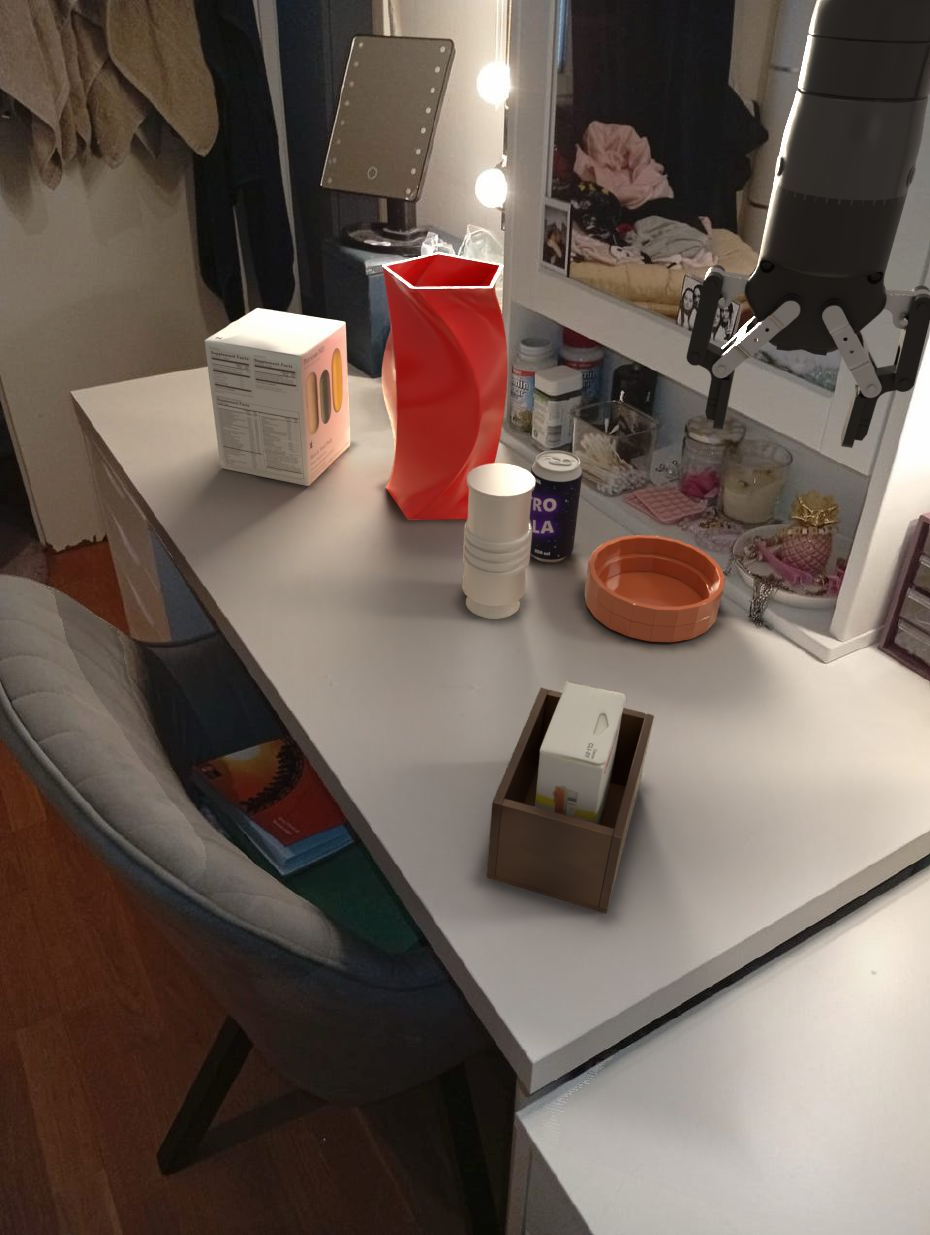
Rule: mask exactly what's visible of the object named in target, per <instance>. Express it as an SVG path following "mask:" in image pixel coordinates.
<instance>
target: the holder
mask: <svg viewBox="0 0 930 1235" xmlns="http://www.w3.org/2000/svg"><path fill="white" fill-rule="evenodd" d="M562 693H563V691H561V692H560V691H557V690H553V689H549V688H545V687H540V688H539V691H538V693H537V696H536V698H535V700H534V703H533V704H532V707H531V709H530V712H529V714H528V717H527V719H526V721H525V724H524V726H523V729H522V731H521V733H520V735H519V739H518V740H517V743H516V745H515V747H514V749H513V752H512V755H511V756H510V760H509V762H508V764H507V766H506V768H505V771H504V773H503V776H502V778H501V780H500V783H499V786H498V788H497V789H496V792H495V794H494V797H493V800H492V802H491V814H490V824H489V826H490V827H489V839H488V853H487V867H486V878H487V879H489V880H493V881H496V882H499V883H502V884H506V885H510V886H512V887H516V888H520V889H522V890H525V891H526V890H527V891H530V892H533V893H536V894H539V895H543V896H546V897H549V898H553V899H556V900H560V901H563V902H566V903H570V904H573V905H576V906H580V907H583V908H586V909H589V910H593V911H596V912H599V913H602V914H608V911H609V906H610V903H611V899H612V896H613V895H612V894H613V891H614V887H615V884H616V879H617V876H618V872H619V868H620V864H621V861H622V855H623V852H624V848H625V844H626V840H627V837H628V833H629V829H630V826H631V825H630V824H631V821H632V818H633V813H634V809H635V805H636V801H637V797H638V794H639V789H640V785H641V782H642V775H643V771H644V767H645V762H646V756H647V751H648V749H649V743H650V738H651V734H652V728H653V725H654V724H653V723H654V719H655V715H654V714H652V713H651V714H650V713H646V712H643V711H639V710H636V709H635V710H634V709H630V708H626V707H624V708H623V712H622V717H621V723H620V729H619V735H618V741H617V747H616V752H615V758H614V764H613V769H612V775H611V780H610V786H609V792H608V797H607V801H606V805H605V808H604V812H603V816H602V820H601V824H600V825H598V824H595V823H591V822H588V821H584V820H580V819H577V818H573V817H569V816H566V815H562V814H559V813H555V812H551V811H548V810H544V809H541V808H537V807H535V800H536V791H537V780H538V769H539V758H540V748H541V745H542V743H543V740H544V737H545V735H546V732H547V730H548V727H549V725H550V722H551V720H552V717H553V715H554V712H555V710H556V707H557V705H558V702H559V700H560V698H561V695H562Z"/></svg>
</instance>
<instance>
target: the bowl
mask: <svg viewBox="0 0 930 1235" xmlns="http://www.w3.org/2000/svg"><path fill="white" fill-rule="evenodd" d="M725 584H726V577H725V575H724V572H723V568H722V567H721V565H719V563H718V562H716V560H715V559H714V558H713V557H712V556H711V555H710V554H708V553H706V552H705V551H703V550H702V549H700V548H699V547H697V546H694V545H692V544H689V543H687V542H684V541H681V540H679V539H675V538H670V537H665V536H660V535H649V534H648V535H644V534H635V535H628V536H627V535H626V536H621V537H619V536H618V537H616V538H614V539H611V540H608V541H605V542H603V543H602V544H601V545H600V546H598V547H597V548H596V549H595V550H593V552H592V554H591V556H590V558H589V559H588V564H587V570H586V578H585V586H584V592H583V593H584V600H585V606H586V607H587V609H588V610H589V611H590V613H591V614H592V616H593V617H594V618H595V619H596V620H597V621H599V622H600V623H601V624H603V625H604V626H605V627H607V629H610V630H612V631H615V632H617V633H619V634H621V635H624V636H626V637H629V638H633V639H636V640H641V641H645V642H649V643H650V642H652V643H676V642H682V641H688V640H691V639H694V638H696V637H699V636H700V635H702V634H705V633H707V632H708V631H709V629H710V628H711V627H712V626H713V625H714V624H715V623H716V621H717V618H718V614H719V608H720V605H721V602H722V601H721V600H722V596H723V593H724V588H725Z"/></svg>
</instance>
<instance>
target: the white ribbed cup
mask: <svg viewBox="0 0 930 1235" xmlns="http://www.w3.org/2000/svg"><path fill="white" fill-rule="evenodd" d="M467 485H468V487H469V501H468V519H466V521H465V523H464V525H463V532H464V533H463V546H462V548H463V554H462V563H463V564H464V570H463V577H462V583H461V587H462V588H461V590H462V591H463V593H464V594H465V595H466V599H465V606H466V608H467V610H468V611H470V612H471V613H472V614H474V615H476V616H477V617H480V618H482V619H483V618H484V619H488V620H500V619H505V618H509V617H511V616H513V615H514V614H516V613H517V612H518V611H519V609H520V606H521V603H520V602H521V601H520V600H521V599H522V598H523V596H525V593H526V582H527V581H526V569H527V568H528V565H529V564H530V558H531V554H530V550H531V539H532V526H531V525H530V523H529V518H530V507H531V496H532V491H533V490H534V487H535V478H534V476H533V475H532V474H531V471H529V470H527V469H525V468H523V467H521V466H518V465H514V464H509V463H500V462H497V463H496V462H495V463H493V464H485V465H481V466H478V467H476V468H474V469H472V470H471V471H470V472H469V473H468V475H467Z"/></svg>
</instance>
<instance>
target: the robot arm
mask: <svg viewBox="0 0 930 1235" xmlns="http://www.w3.org/2000/svg"><path fill="white" fill-rule="evenodd" d="M805 44H806V45H805V48H804V54H803V58H802V64H801V69H800V72H799V78H798V82H797V83H798V84H797V87H798V88H797V89H796V92H795V96H794V98H793V103H792V106H791V109H790V112H789V116H788V118H787V121H786V125H785V128H784V131H783V136H782V138H781V139H782V140H781V145H780V149H779V155H778V156H777V159H776V162H775V168H774V173H775V174H774V180H773V185H772V186H773V187H772V191H771V196H770V199H769V205H768V211H767V215H766V220H765V225H764V230H763V234H762V240H761V241H762V242H761V246H760V252H759V257H758V261H757V263H756V266H755V268H754V269H753V271H752V272H751V273H750V274H743V273H737V272H731V271H726V269H725V268H724V266H722V265H719V264H714V265H712V266H710V267H709V268H708V270H707V272H706V274H705V277H704V279H703V282H702V286H701V290H700V295H699V299H698V303H697V308H696V311H695V312H696V313H695V316H694V321H693V326H692V329H691V330H692V331H691V334H690V339H689V343H688V348H687V352H686V361H687V362H688V364H689V365H690V366H693V367H694V366H699V367H702V368H703V369H705V370H707V371H708V373H709V374H710V386H709V390H708V395H707V401H706V406H705V411H704V412H705V416H706V417H705V418H706V420H708V421H713V424H712V429H713V430H714V429H715V430H722V431H723V430H724V427H725V422H726V416H727V412H728V406H729V401H730V397H731V392H732V386H733V381H734V377H735V371H736V369H737V368H738V367H739V366H740V365H741V364H743V363H744V362H745V361H746V360H747V359H749V358H751V357H753V356H754V355H755V354H756V353H758V351H759V350H761V349H762V348H763V347H764V346H765V345H766V344H768V343H769V344H770V345H772V346H774V347H776V348H775V349H776V350H777V351H785V352H794V351H801V350H802V351H805V352H807V353H810V354H812V355H815V356H823V357H824V356H825V357H826V356H827V355H828V354H829V353H833V352H836V351H839V353H840V356H841V357H842V359H843V361H844V363H845V366H846V367H847V369H848V370H849V372H851V374H852V376H853V378H854V380H855V382H856V384H854V388H853V391H852V394H851V398H850V401H849V405H848V409H847V412H846V416H845V419H844V423H843V426H842V430H841V434H840V435H841V436H840V447H842V448H849V449H853V447H854V444H855V441H859V442H860V441H861V442H862V441H863V440H864V439H865V438H866V437H867V435H868V433H869V430H870V426H871V423H872V419H873V415H874V412H875V409H876V406H877V402H878V400H879V398H880V397H881V396H882V395H884V394H885V393H889V392H895V391H897V392H899V393H900V392H901V393H906V392H909V391H910V390H912V389H913V388H914V386H915V383H916V378H917V375H918V371H919V367H920V364H921V358H922V354H923V350H924V347H925V343H926V338H927V334H928V331H929V326H930V289H929V287H927V286H926V285H918V286H915V287H913V288H912V289H911V290H899V289H897V290H896V289H895V290H894V289H886V286H885V275H886V271H887V268H888V264H889V261H890V257H891V253H892V249H893V247H894V243H895V239H896V235H897V233H898V229H899V224H900V221H901V218H902V214H903V211H904V206H905V203H906V199H907V197H908V196H907V195H908V192H909V188H910V186H911V185H912V183H913V180H914V178H915V174H916V171H917V170H916V165H917V164H916V163H917V160H918V156H919V152H920V147H921V144H922V139H923V134H924V127H925V126H924V125H925V119H926V112H927V108H928V103H929V98H930V97H929V95H930V0H815V4H814V8H813V11H812V14H811V19H810V24H809V27H808V34H807V39H806V43H805ZM740 294H742V295H743V294H744V297H745V300H746V302H747V304H748V307H749V308H750V310H751V312H752V314H753V316H752V318H750V319H748V321H747V322H746V323H745V324H744V325H743V326H742V327H741V328H740V329H739V330H738V332H737V333H736V334H735V335H733V337H732V338H731V339H730V340H728V341H727V342H726V344H724V345H723V346H722V347H720V346H718V345H716V344H714V343H712V342H711V337H712V335H713V330H714V327H715V326H714V325H715V322H716V317H717V313H718V310H719V309H726V308H728V307H729V306H730V305H731V304H732V303H733V302H732V301H733V299H734V298H736V296H737V295H740ZM884 310H887V311H889V312H890V313H891V315H892V316H891V319H892V324H893V326H894V327H895V328H897V329H900V333H899V338H898V342H897V346H896V350H895V355H894V359H893V363H892V364H890V365H886V366H880V367H878V364H877V363H876V360H875V359H874V356H873V355H872V352H871V349H870V347H869V345H868V342H867V340H866V338H865V336H864V334H863V329H865V327H867V326H869V324H870V323H871V322H872V321H874V320H875V319H876V318H877V317H878V316H880V314H881V313H882V312H883V311H884Z"/></svg>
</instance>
